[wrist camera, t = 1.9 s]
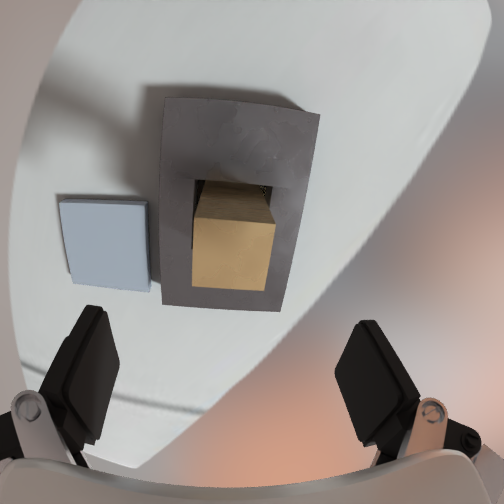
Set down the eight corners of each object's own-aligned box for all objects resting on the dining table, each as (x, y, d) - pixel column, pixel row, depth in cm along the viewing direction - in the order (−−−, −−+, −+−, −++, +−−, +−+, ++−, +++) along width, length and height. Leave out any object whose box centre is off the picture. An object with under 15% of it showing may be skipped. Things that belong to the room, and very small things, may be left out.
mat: (64, 199, 19) (59, 202, 18) (147, 201, 20) (144, 205, 20) (77, 277, 23) (73, 283, 22) (151, 286, 24) (149, 292, 23)
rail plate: (172, 99, 17) (165, 97, 15) (309, 114, 18) (320, 114, 16) (167, 287, 24) (162, 304, 22) (275, 294, 26) (280, 311, 23)
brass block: (205, 179, 20) (194, 217, 13) (258, 184, 21) (276, 224, 14) (202, 228, 22) (191, 286, 15) (252, 232, 23) (264, 290, 15)
